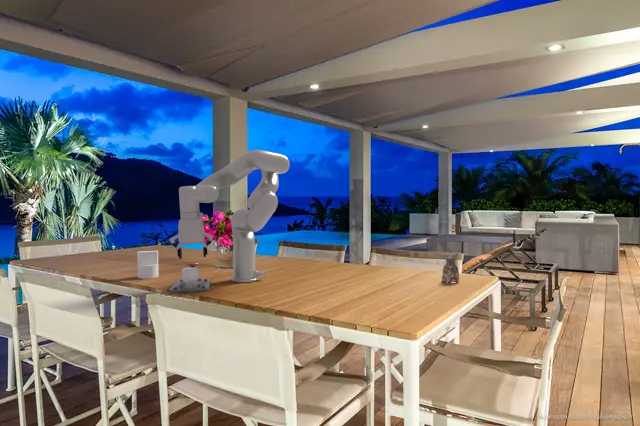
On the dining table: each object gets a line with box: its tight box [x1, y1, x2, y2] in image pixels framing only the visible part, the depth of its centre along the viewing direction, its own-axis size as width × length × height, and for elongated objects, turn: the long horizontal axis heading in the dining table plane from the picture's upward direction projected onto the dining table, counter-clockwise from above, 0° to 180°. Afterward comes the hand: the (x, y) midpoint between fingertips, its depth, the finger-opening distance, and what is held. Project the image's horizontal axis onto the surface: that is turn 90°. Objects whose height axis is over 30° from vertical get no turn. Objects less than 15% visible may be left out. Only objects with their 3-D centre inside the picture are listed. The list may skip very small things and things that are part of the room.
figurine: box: [441, 253, 460, 283], centre depth 194 cm, size 7×7×12 cm
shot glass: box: [181, 266, 200, 283], centre depth 184 cm, size 7×7×7 cm
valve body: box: [168, 262, 212, 293], centre depth 186 cm, size 15×19×9 cm
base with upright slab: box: [136, 250, 159, 280], centre depth 208 cm, size 9×9×12 cm
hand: (192, 257), depth 184 cm, fingers open, 9 cm apart
